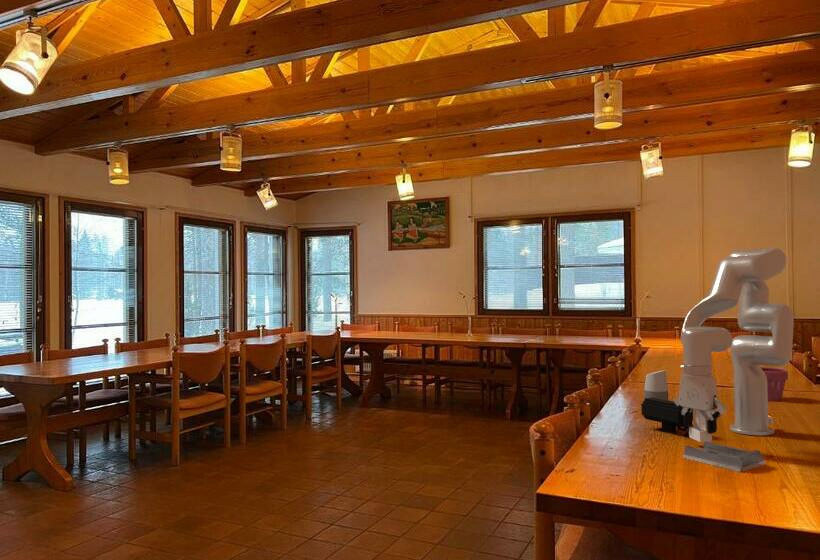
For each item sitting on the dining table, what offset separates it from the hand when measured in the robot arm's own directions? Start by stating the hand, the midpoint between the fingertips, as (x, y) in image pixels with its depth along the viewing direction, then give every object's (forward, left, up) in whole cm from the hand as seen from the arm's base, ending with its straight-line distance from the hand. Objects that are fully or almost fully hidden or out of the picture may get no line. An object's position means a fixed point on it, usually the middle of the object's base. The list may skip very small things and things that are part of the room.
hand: (700, 429), depth 176 cm
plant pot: (-94, -29, -5) cm, 99 cm away
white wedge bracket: (0, 0, -3) cm, 3 cm away
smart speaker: (-48, -50, -5) cm, 70 cm away
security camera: (-9, -16, -5) cm, 20 cm away
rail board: (+9, +12, -5) cm, 16 cm away
